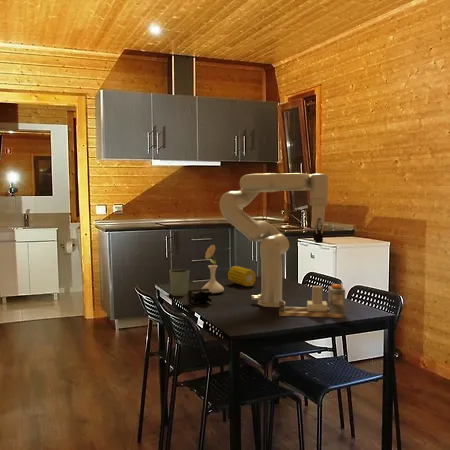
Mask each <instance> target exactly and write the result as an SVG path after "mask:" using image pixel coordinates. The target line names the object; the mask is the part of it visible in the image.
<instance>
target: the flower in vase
mask: <svg viewBox="0 0 450 450" xmlns="http://www.w3.org/2000/svg"><path fill="white" fill-rule="evenodd" d="M215 252H216V246H215V244H211V245H210V246H209V247H207V250H206V252H205V254H204V255H205V256H204V258H205V259H206V260H208V259H209V261H210V263H211V265H207V268H209V270H210V271H209V272H210V279H209V281H208V282H207V283H206V284H205V285H204V286H202V288H201V289H209V291H210V292H211V293H212V294H220V293H222V292H224V290H225V288H224V286H222V285H221V284H220V283H219V282H218V281H217V280H216V272H217V271H216V270H217V268H218V265H217V260H216V259H215V255H214V253H215ZM211 257H213V259H212V258H211Z"/></svg>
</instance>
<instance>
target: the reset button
mask: <svg viewBox="0 0 450 450" xmlns="http://www.w3.org/2000/svg"><path fill="white" fill-rule="evenodd" d="M331 286H332V288H334V289H341V287H342V286H343V285H342V284H338V283H333V284H331Z"/></svg>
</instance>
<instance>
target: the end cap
mask: <svg viewBox="0 0 450 450" xmlns="http://www.w3.org/2000/svg"><path fill="white" fill-rule="evenodd" d="M212 295H213V293H211V292H210V291H209V289H202V288H200V289H188V292H187V295H186V299H187V303H188V304H189V305H190V306H192V307H202V306H211V305H212V303H211V302H213V301H212V299H213V298H212V297H210V296H212Z"/></svg>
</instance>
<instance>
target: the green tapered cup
mask: <svg viewBox="0 0 450 450" xmlns="http://www.w3.org/2000/svg"><path fill="white" fill-rule="evenodd" d="M168 272H169V284H170V295H171V296H174V297H182V296H183V297H184V296H187V292H188V290H189V280H190V272H191V271H190V270H189V269H183V268H181V269H180V268H176V269H174V268H173V269H169V271H168Z"/></svg>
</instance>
